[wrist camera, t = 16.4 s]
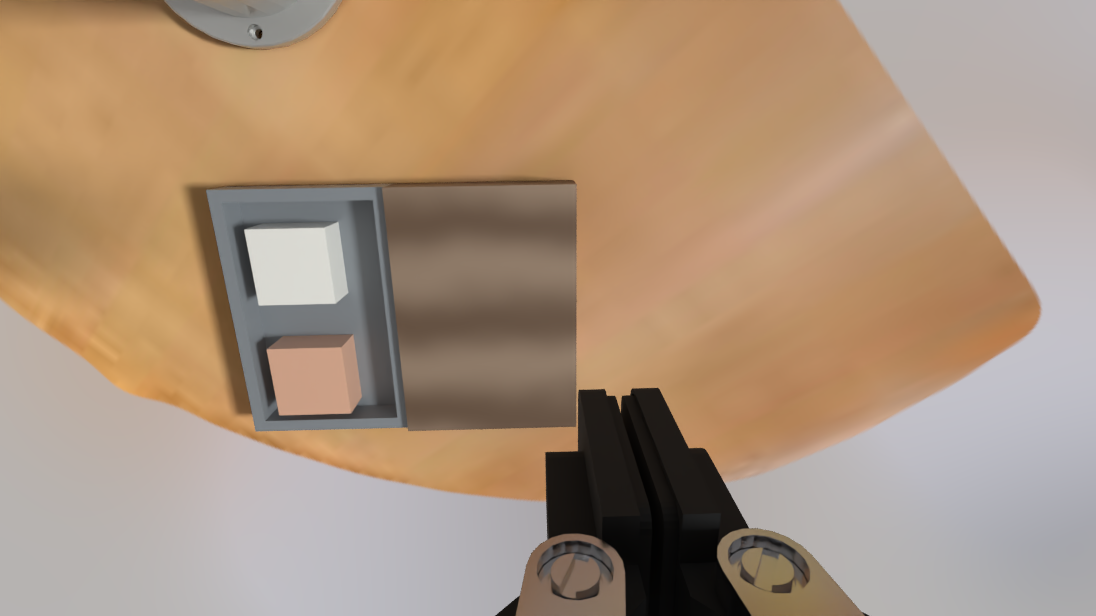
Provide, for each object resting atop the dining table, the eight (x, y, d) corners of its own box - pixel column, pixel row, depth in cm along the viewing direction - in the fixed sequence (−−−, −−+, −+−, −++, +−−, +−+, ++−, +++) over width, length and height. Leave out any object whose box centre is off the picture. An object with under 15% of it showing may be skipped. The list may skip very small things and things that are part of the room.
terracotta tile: (341, 347, 36) (353, 334, 38) (266, 349, 36) (283, 336, 38) (350, 413, 38) (361, 396, 40) (279, 415, 38) (294, 398, 40)
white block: (324, 227, 34) (338, 221, 36) (244, 229, 34) (263, 223, 36) (335, 303, 35) (348, 293, 38) (258, 305, 35) (276, 294, 37)
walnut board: (393, 183, 36) (381, 187, 33) (573, 180, 36) (576, 184, 33) (416, 410, 41) (408, 430, 38) (573, 406, 41) (576, 426, 38)
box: (227, 186, 36) (206, 190, 33) (393, 183, 36) (384, 186, 33) (272, 414, 41) (255, 431, 38) (416, 410, 41) (409, 427, 39)
